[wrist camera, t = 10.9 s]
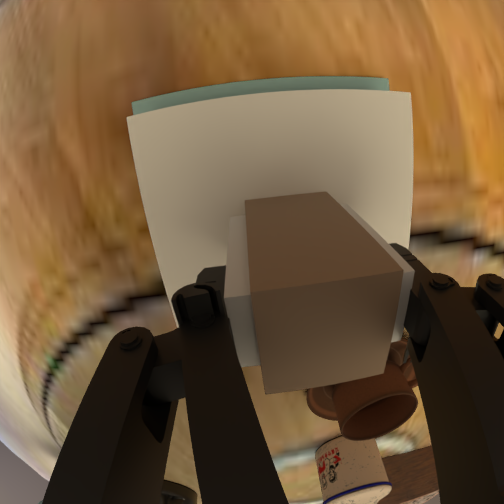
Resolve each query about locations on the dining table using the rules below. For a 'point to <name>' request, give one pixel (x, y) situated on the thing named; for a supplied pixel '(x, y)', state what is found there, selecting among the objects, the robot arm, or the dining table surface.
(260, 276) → the lid
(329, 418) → the cup and saucer
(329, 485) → the teacup with lid
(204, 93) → the mat
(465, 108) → the dining table surface
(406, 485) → the tissue box cover
